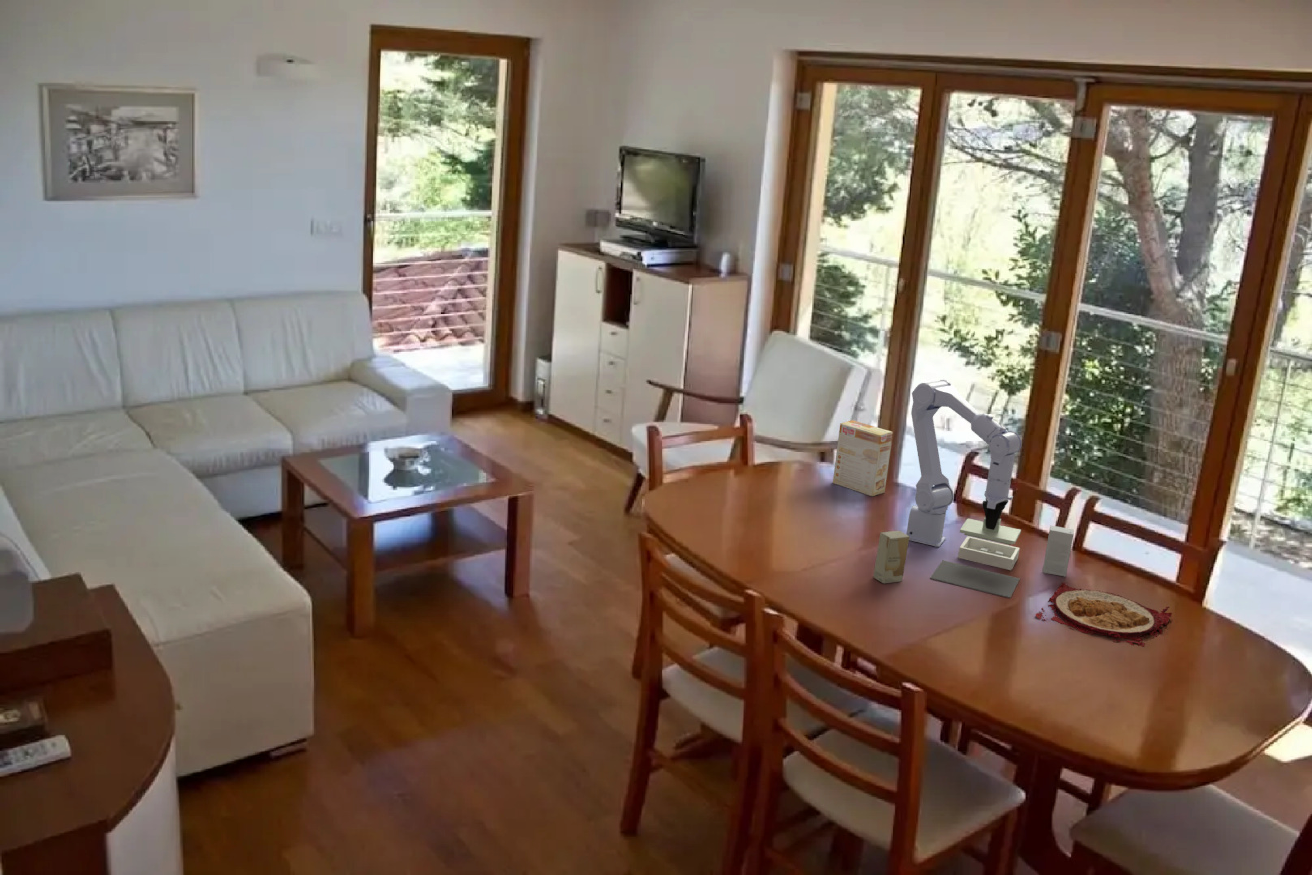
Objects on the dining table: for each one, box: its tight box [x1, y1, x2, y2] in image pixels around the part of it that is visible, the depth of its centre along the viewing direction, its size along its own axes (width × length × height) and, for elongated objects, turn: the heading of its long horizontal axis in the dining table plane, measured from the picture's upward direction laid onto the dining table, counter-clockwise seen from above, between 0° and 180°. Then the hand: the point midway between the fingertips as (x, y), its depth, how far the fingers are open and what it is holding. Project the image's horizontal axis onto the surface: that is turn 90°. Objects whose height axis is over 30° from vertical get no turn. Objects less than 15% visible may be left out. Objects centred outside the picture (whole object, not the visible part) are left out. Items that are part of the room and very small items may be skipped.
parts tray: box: [957, 535, 1021, 571], centre depth 323 cm, size 14×10×3 cm
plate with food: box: [1035, 582, 1173, 648], centre depth 291 cm, size 25×26×4 cm
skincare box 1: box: [872, 530, 910, 584], centre depth 302 cm, size 6×4×12 cm
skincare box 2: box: [1042, 525, 1075, 577], centre depth 316 cm, size 6×4×12 cm
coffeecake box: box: [832, 419, 894, 497], centre depth 368 cm, size 15×7×20 cm, turn 46°
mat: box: [929, 559, 1021, 599], centre depth 308 cm, size 20×14×1 cm
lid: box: [959, 517, 1022, 546], centre depth 316 cm, size 14×10×5 cm
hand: (991, 526), depth 316 cm, fingers closed on lid, 2 cm apart
